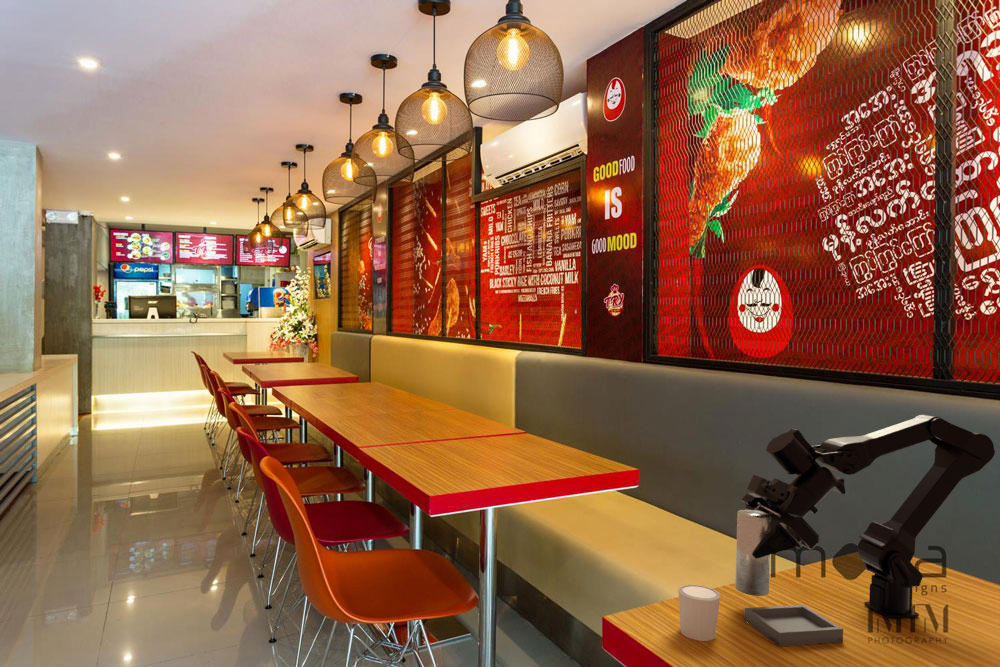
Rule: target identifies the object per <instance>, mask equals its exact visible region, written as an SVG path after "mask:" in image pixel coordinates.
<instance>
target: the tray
mask: <svg viewBox="0 0 1000 667" xmlns="http://www.w3.org/2000/svg"><path fill="white" fill-rule="evenodd" d="M743 618H744V620H745V621H744V622H746V623H747V622H748V623H749V624H748V623H747V624H748V625H749V626H751V625H752V626H753V627H752V626H751V627H752V628H754V629H755V630H756V629H757V630H756V631H758V632H759V633H760V634H762V636H764V637H765V638H766V639H768V640H770V641H771V642H772V643H774V644H775V645H776V646H778V647H788V646H791V645H793V646H806V645H805V644H807V645H818V643H822V644H833V643H834V644H835V643H836V642H837V643H844V628H842V627H841V626H839V625H838V624H837V623H834V622H833V621H831V620H830V619H828V618H826V617H825V616H823V615H821V614H820V613H818V612H816V611H815V610H813V609H812V608H810V607H808V606H807V605H805V604H798V605H797V604H796V605H795V604H794V605H779V606H777V605H776V606H775V605H774V606H757V607H755V606H754V607H744V616H743ZM837 643H836V644H837ZM802 644H803V645H802Z"/></svg>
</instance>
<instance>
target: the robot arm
mask: <svg viewBox="0 0 1000 667" xmlns="http://www.w3.org/2000/svg"><path fill="white" fill-rule="evenodd" d="M926 441H928V442H930V443H931V444H933V445H935V446H936V447H935V448H934V460H933V461H934V463H933V465H932V466H931V467H930V468H929V469H928V471H927V472H926V474H924V476H923V477H922V478H921V480H920V481H919V482H918V483H917V485H916V486H915V487H914V489H913V490H912V491H911V493H910V494H909V495H908V496H907V497H906V499H905V500H904V502H903V503H902V504H901V506H900V507H899V508H898V509H897V510H896V512H895V513H894V514H893V516H892V517H891V518H890V520H888V521H887V522H884V523H879V522H876V521H872V522H870V524H869V525H868V527H867V528H866V530H865V531H864V532H863V533H862V534H860V535H859V536H858V537H859V539H860V540H859V542H858V544H857V550H858V555H859V557H860V559H861V560H862V561H863V564H864V567H865V569H866V570H867V571H868V572H871V573H872V575H871V579H870V580H871V583H870V584H869V598H868V599H869V600H868V601H864V602H863V604H864V606H866V607H869V608H870V609H872V610H874V611H875V612H878V613H879V614H881V615H882V616H884V617H885V616H886V618H889V619H902V618H904V619H905V618H917V617H919V616H920V614H919V612H917V611H914V610H913V587H920V586H921V583H922V580H923V578H924V575H923V574H922V573H921V572H920V570H918V568H917V567H916V566H915V565H914V564H913V563H912V560H913V558H914V556H915V555H916V554H915V553H916V551H915V550H916V539H917V537H918V536H919V534H920V533H921V532H922V530H924V528H925V527H926V526H927V524H928V523H929V522H930V520H931V519H932V518H933V517H934V515H935V514H936V513H937V512H938V510H939V509H940V508H941V506H942V505H943V504H944V502H945V501H946V500H947V498H948V497H949V496H950V495H951V494H952V492H953V491H954V490H955V488H956V487H957V486H958V485H959V483H960V482H961V481H962V480H963V479H964V478H967V477H969V476H971V475H974V474H976V473H978V472H980V471H981V470H982V469H983V468H984V467H985V466H987V465H988V464H989V463H990V462H991V461H992V460H993V458H994V456H995V455H996V450H995V446H994V443H993V441H992V439H991V438H990V437H989V436H988V435H986V434H983V433H979V432H974V431H973V432H972V431H970V430H968V429H965V428H963V427H960V426H958V425H955V424H953V423H951V422H949V421H947V420H945V419H943V418H942V417H940V416H935V415H930V414H929V415H928V414H919V415H916V416H915V417H914V418H912V419H911V418H910V419H908V420H905V421H902V422H900V423H897V424H893V425H891V426H887V427H885V428H882V429H879V430H875V431H873V432H870V433H867V434H863V435H858V436H841V437H833V438H828V439H826V440H824V441H822V442H821V444H818V445H817V444H816V445H811V444H810V443H809V442H808V440H806V438H805V436H803V434H802V432H800V430H799V429H795V428H791V429H789V431H788V432H784V433H781V434H779V435H778V436H775V437H773V438H772V439H771V440H770V441H769V443H768V444H767V446H766V450H765V451H766V452H767V454H769V455H770V456H771V458H772V459H773V460H774V461H775V462H776V463H777V464H778V465H779V466H780V467H781V468H782V469H783V471H784V472H785V473H786V474H787V475H796V476H795V477H794V478H793V480H791V481H790V482H789V483H787V482H784V481H782V480H780V479H778V478H773V479H772V480H768V479H766V478H764V477H762V476H759V475H757V474H755V473H753V474H752V477H751V478H750V480H749V483H748V485H747V487H746V490H748V491H749V492H748V493H746V494H745V495H744V496H743V497H742V498H741V502H742V503H743V504H744V505H745V510H756V511H762V512H765V513H768V514H770V515H771V526H770V531H769V533H768V534H767V535H766V536H765V537H764V539H763V540H762V541H761V542H760V544H759V545H758V546H757V547H756V549H755V550H754V552H753V553H752V555H753V556H754V557H755V558H756V559H758V558H761V557H764V556H767V555H770V556H771V555H772V554H776V553H779V552H780V553H781V552H784V551H787V550H792V549H794V548H797V549H800V548H801V545H802V546H803V547H804V548H806V549H808V550H810V551H813V550H814V549H815V548H816V546H818V545H819V542H820V535H819V534H818V533H817V531H815V530H814V528H813V527H812V526H811V525H810V524H809V523H808V522H807V521H806V519H804V518H805V517H806V516H807V515H808V514H809V513H811V514H813V515H815V514H816V513H817V512H818V511H819V509H818V508H817V507H816V506H817V505H818V504H819V503H820V502H821V501H822V500H823V499H824V498H825V497H826V496H827V495H828V494H829V493H830V492H831V491H833V492H837V493H838V494H842V495H845V494H846V487H845V479H844V478H841V477H839V476H835V475H834V473H833V472H832V471H836V472H838V473H841V474H844V475H846V476H847V475H849V476H851V475H856V474H857V473H860V472H861V471H863V470H865V469H867V468H868V467H870V466H871V465H872V464H873V463H874V461H875V460H876V459H878V458H880V457H882V456H885V455H889V454H891V453H894V452H897V451H901V450H903V449H906V448H909V447H911V446H915V445H917V444H920V443H923V442H926ZM817 461H818V462H820V463H821V465H823V466H821V465H820V464H819V463H818V462H817ZM831 470H832V471H831ZM750 492H751V493H750ZM752 492H753V493H752Z"/></svg>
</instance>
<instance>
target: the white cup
mask: <svg viewBox="0 0 1000 667" xmlns="http://www.w3.org/2000/svg"><path fill="white" fill-rule="evenodd" d="M677 591H678V593H677V594H678V609H679V611H678V612H679V627H680V633H681V634H682V635H683V636H685V637H686V638H688V639H691V640H695V641H698V642H699V641H700V642H708V641H712V640H714V639H715V638H716V633H717V632H716V631H717V626H718V625H717V623H718V618H719V609H720V603H721V602H720V601H721V593H720V592H719V591H717V590H715V589H714V588H712V587H708V586H705V585H699V584H686V585H685V584H684V585H681V586H679V588H678V590H677Z"/></svg>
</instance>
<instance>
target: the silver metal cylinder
mask: <svg viewBox="0 0 1000 667" xmlns="http://www.w3.org/2000/svg"><path fill="white" fill-rule="evenodd" d="M736 523H737V524H736V545H735V546H736V548H735V550H736V552H735V557H736V558H735V580H734V581H735V585H734V586H735V588H734V589H736V590H737V591H738V592H740V593H742V594H745V595H748V596H749V595H750V596H753V597H754V596H755V597H763V596H767V595H769V592H770V571H771V570H770V569H771V568H770V567H771V565H770V564H771V561H770V560H771V554H770V555H767V556H764V557H761V558H758V559H756V558H755V557H754V556H753V555H752V553H753V552H754V550H755V549H756V547H757V546H758V545H759V544H760V542H761V541H762V540H763V539H764V537H765V536H766V535H767V534H768V533H769V531H770V526H771V515H770V514H768V513H765V512H762V511H756V510H747V509H740V510H738V511H737V519H736Z"/></svg>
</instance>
